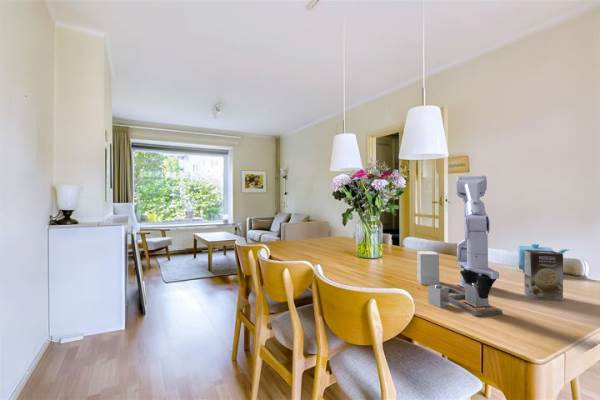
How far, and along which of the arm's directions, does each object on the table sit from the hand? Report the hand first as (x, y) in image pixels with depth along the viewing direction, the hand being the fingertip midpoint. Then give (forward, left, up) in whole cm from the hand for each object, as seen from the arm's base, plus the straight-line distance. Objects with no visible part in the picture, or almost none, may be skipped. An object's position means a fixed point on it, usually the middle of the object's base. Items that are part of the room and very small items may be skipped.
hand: (477, 295), depth 93 cm
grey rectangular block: (0, 0, -2) cm, 3 cm away
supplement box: (-2, -30, -5) cm, 30 cm away
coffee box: (-30, -5, -5) cm, 31 cm away
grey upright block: (+9, -7, -5) cm, 12 cm away
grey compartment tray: (0, -7, -4) cm, 8 cm away
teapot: (-61, -32, -5) cm, 69 cm away
